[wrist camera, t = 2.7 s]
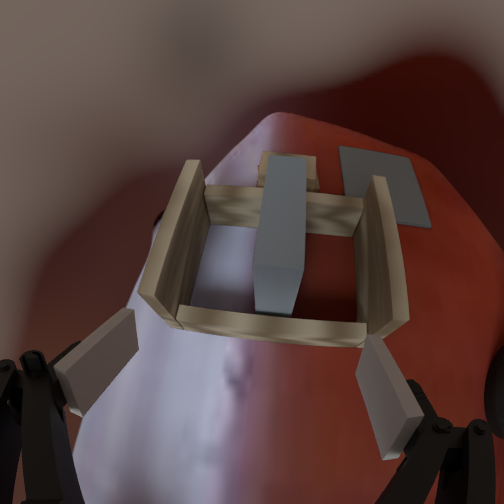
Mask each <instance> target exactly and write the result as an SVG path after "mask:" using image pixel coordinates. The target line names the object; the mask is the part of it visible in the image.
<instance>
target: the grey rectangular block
mask: <svg viewBox="0 0 504 504" xmlns="http://www.w3.org/2000/svg"><path fill="white" fill-rule="evenodd" d="M305 231H306V158H300V157H290V156H278V155H269V157H268V163H267V170H266V177H265V184H264V191H263V198H262V204H261V211H260V218H259V225H258V231H257V238H256V245H255V252H254V258H253V278H254V294H255V310H256V315H264V316H274V317H285V318H291V314H292V311H293V307H294V304H295V300H296V297H297V293H298V290H299V286H300V283H301V279H302V275H303V271H304V259H305Z"/></svg>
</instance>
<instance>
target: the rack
mask: <svg viewBox="0 0 504 504" xmlns="http://www.w3.org/2000/svg"><path fill="white" fill-rule="evenodd" d="M263 191H264V188H258V187H243V186H226V185H207V186H206V185H205V181H204V176H203V172H202V167H201V162H200V160H187V161H186V163H185V165H184V167H183V170H182V172H181V174H180V177H179V179H178V181H177V184H176V187H175V189H174V191H173V194H172V196H171V198H170V201H169V203H168V206H167V209H166V211H165V214H164V216H163V219H162V222H161V224H160V227H159V230H158V232H157V235H156V238H155V241H154V243H153V246H152V249H151V252H150V255H149V258H148V261H147V264H146V267H145V270H144V273H143V276H142V279H141V282H140V285H139V289H138V292H137V293H138V294H139V295H140V296H141V297H142V298H143V299H144V300H145V301H146V302H147V303H148V305H149V306H150V307H151V308H152V309H153V310H154V311H155V312H156V313H157V314H158V315H159V316H160V317H161V318H162V319H163V320H164V321H165V322H166V323H167V324H168V325H169V326H170V327H171V328H176V329H182V330H184V329H185V330H188V331H194V332H200V333H206V334H213V335H220V336H227V337H234V338H242V339H251V340H259V341H269V342H279V343H290V344H302V345H316V346H334V347H360V348H363V347H364V343H365V339H366V335H367V334H373V335H380V337H381V338H382V339H383V338H385V337H386V336H387V335H389V334H390V333H392V332H393V331H395V330H396V329H397V328H399V327H400V326H401V325H403V324H404V323H406V322H407V321H408V320H410V319H409V307H408V296H407V287H406V279H405V271H404V264H403V258H402V252H401V246H400V240H399V234H398V229H397V224H396V219H395V215H394V210H393V206H392V201H391V197H390V193H389V189H388V185H387V181H386V177H382V176H376V175H372V178H371V181H370V184H369V186H368V189H367V192H366V194H365V197H364V199H363V200H362V198H356V197H348V196H340V195H332V194H323V193H314V192H306V231H305V232H306V233H316V234H326V235H336V236H345V237H352V235H353V243H354V258H355V276H356V308H357V323H353V322H336V321H321V320H308V319H296V318H285V317H274V316H264V315H255V314H246V313H238V312H230V311H222V310H214V309H207V308H200V307H193V306H189V305H190V301H191V297H192V293H193V288H194V284H195V280H196V276H197V272H198V268H199V264H200V260H201V256H202V252H203V248H204V244H205V240H206V236H207V232H208V229H209V225H210V222H211V224H215V225H228V226H240V227H252V228H258V225H259V218H260V211H261V204H262V198H263Z"/></svg>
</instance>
